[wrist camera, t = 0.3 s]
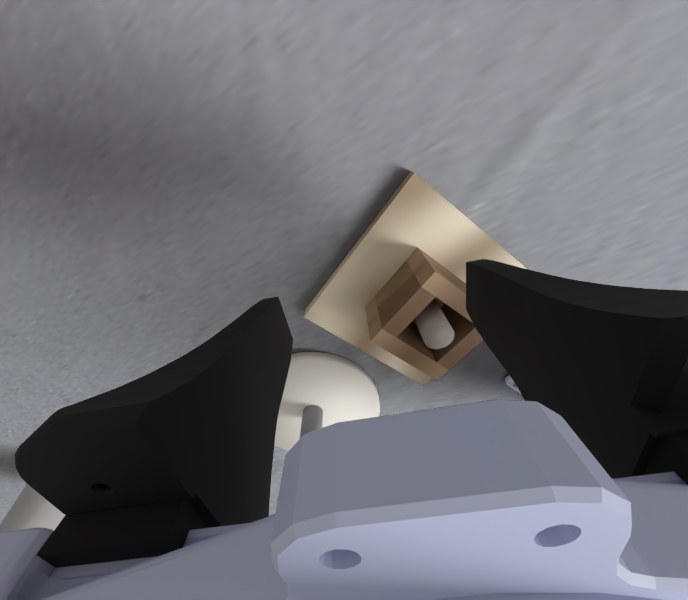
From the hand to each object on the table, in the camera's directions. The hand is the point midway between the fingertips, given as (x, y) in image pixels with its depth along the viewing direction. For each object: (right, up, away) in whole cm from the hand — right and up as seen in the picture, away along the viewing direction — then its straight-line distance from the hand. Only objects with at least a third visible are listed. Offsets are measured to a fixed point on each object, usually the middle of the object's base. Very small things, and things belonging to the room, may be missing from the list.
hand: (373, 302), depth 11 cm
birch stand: (+4, +1, +11) cm, 11 cm away
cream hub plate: (-4, -9, +16) cm, 19 cm away
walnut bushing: (+4, 0, +10) cm, 11 cm away
